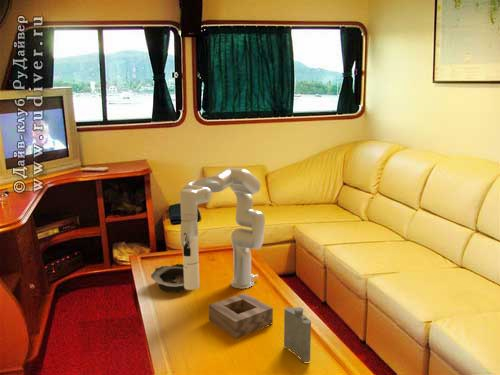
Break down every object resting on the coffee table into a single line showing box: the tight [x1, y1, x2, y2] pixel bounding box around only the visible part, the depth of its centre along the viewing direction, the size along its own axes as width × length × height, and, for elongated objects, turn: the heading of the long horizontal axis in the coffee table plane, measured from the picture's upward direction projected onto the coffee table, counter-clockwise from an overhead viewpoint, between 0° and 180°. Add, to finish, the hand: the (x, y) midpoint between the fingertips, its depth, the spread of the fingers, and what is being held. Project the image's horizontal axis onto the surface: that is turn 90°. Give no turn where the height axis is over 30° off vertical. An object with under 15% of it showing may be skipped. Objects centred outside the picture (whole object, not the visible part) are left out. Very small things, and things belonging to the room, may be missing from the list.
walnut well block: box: [208, 292, 274, 339], centre depth 230 cm, size 21×21×8 cm
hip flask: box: [283, 306, 312, 363], centre depth 203 cm, size 16×4×20 cm, turn 30°
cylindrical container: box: [182, 234, 200, 291], centre depth 232 cm, size 7×7×25 cm
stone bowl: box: [150, 263, 187, 293], centre depth 270 cm, size 25×25×9 cm
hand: (190, 252), depth 231 cm, fingers closed on cylindrical container, 7 cm apart
